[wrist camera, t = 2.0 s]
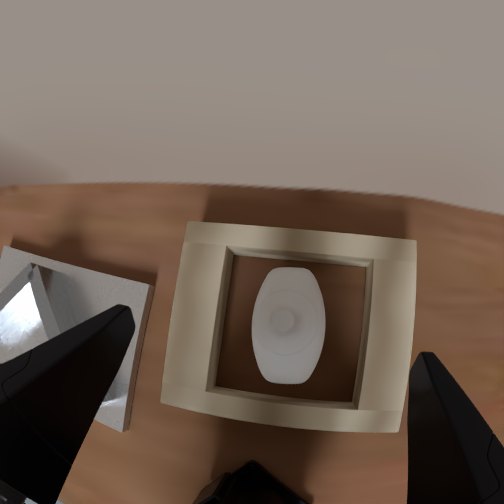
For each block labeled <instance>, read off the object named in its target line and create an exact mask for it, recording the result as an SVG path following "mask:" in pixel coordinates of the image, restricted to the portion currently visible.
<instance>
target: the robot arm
mask: <svg viewBox="0 0 504 504" xmlns="http://www.w3.org/2000/svg"><path fill="white" fill-rule="evenodd" d="M135 328H136V326H135V321H134V318H133V314H132V311H131V308H130V307H129V306H126V305H122V304H117V305H115V306H113V307H111V308H109V309H107V310H105V311H103V312H101V313H99V314H97V315H95V316H94V317H92V318H90V319H88V320H86V321H84V322H82V323H80V324H78V325H76V326H74V327H72V328H70V329H69V330H67V331H65V332H63V333H61V334H59V335H57V336H55V337H53V338H51V339H49V340H47V341H46V342H44V343H42V344H40V345H38V346H36V347H34V348H33V349H30V350H28V351H27V352H25V353H23V354H21V355H19V356H17V357H15V358H13V359H11V360H8V361H6V362H4V363H2V364H0V504H25V503H24V502H25V500H26V498H29V499H31V500H32V501H34V502H36V503H37V504H55V503H56V501H57V499H58V496H59V494H60V492H61V489H62V487H63V485H64V483H65V480H66V478H67V476H68V474H69V471H70V469H71V467H72V464H73V462H74V460H75V458H76V456H77V453H78V451H79V449H80V447H81V445H82V443H83V441H84V439H85V437H86V434H87V432H88V430H89V428H90V426H91V424H92V422H93V420H94V418H95V416H96V414H97V412H98V410H99V408H100V406H101V404H102V402H103V400H104V398H105V396H106V394H107V392H108V390H109V388H110V386H111V385H112V383H113V381H114V379H115V377H116V375H117V373H118V371H119V369H120V367H121V364H122V362H123V359H124V357H125V354H126V352H127V349H128V347H129V345H130V342H131V340H132V337H133V335H134V332H135ZM407 427H408V493H407V504H504V447H503V445H502V444H501V443H500V441H499V440H498V438H497V437H496V435H495V434H494V433H493V431H492V430H491V428H490V427H489V425H488V424H487V423H486V421H485V420H484V418H483V417H482V416H481V414H480V413H479V411H478V410H477V409H476V407H475V406H474V404H473V403H472V402H471V400H470V399H469V398H468V396H467V395H466V394H465V392H464V391H463V390H462V388H461V387H460V386H459V384H458V383H457V382H456V381H455V379H454V378H453V377H452V375H451V374H450V373H449V371H448V370H447V369H446V368H445V366H444V365H443V364H442V363H441V361H440V360H439V359H438V358H437V356H436V355H435V354H434V353H433V352H420V353H419V355H418V357H417V358H416V360H415V362H414V364H413V366H412V368H411V370H410V374H409V398H408V417H407ZM250 465H253V466H254V467H255V468H254V469H250V468H249V466H250ZM193 504H309V503H307V502H306V501H305V500H303V499H302V498H301V497H299V496H298V495H297V494H295V493H294V492H293V491H292V490H290V489H289V488H288V487H286V486H285V485H284V484H283V483H281V482H280V481H279V480H278V479H276V478H275V477H274V476H273V475H272V474H270V473H269V472H268V471H267V470H266V469H264V468H263V467H262V466H261V465H260V464H259V463H257V462H256V461H253V460H251V461H248V462H246V463H245V464H244V465H242V466H241V467H240V468H239V469H237V470H236V471H235V472H233V473H232V474H231V473H230V472H226V473H224V474H223V475H221V476H220V477H219V478H217V479H216V480H215V481H213V482H212V483H211V484H209V485H208V486H206V487H205V488H204V489H203V490H202V492H201V493H200V494H199V496H198V497H197V498H196V500H195V501H194V502H193Z"/></svg>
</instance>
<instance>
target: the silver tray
mask: <svg viewBox="0 0 504 504" xmlns="http://www.w3.org/2000/svg"><path fill="white" fill-rule="evenodd" d="M154 289H155V286H152V285H149V284H145V283H141V282H137V281H133V280H128V279H124V278H120V277H116V276H112V275H108V274H104V273H100V272H96V271H93V270H89V269H85V268H81V267H77V266H74V265H70V264H66V263H63V262H59V261H55V260H52V259H48V258H45V257H41V256H38V255H34V254H31V253H28V252H24V251H21V250H17V249H14V248H11V247H8V246H4V247H3V251H2V255H1V259H0V362H1V363H4V362H6V361H8V360H11V359H13V358H15V357H17V356H19V355H21V354H23V353H25V352H27V351H28V350H30V349H33V348H34V347H36V346H38V345H40V344H42V343H44V342H46V341H47V340H49V339H51V338H53V337H55V336H57V335H59V334H61V333H63V332H65V331H67V330H69V329H70V328H72V327H74V326H76V325H78V324H80V323H82V322H84V321H86V320H88V319H90V318H92V317H94V316H95V315H97V314H99V313H101V312H103V311H105V310H107V309H109V308H111V307H113V306H115V305H117V304H122V305H126V306H129V307H130V308H131V311H132V314H133V318H134V321H135V326H136V328H135V332H134V335H133V337H132V340H131V342H130V345H129V347H128V349H127V352H126V354H125V357H124V359H123V362H122V364H121V367H120V369H119V371H118V373H117V375H116V377H115V379H114V381H113V383H112V385H111V386H110V388H109V390H108V392H107V394H106V396H105V398H104V400H103V402H102V404H101V406H100V408H99V410H98V412H97V414H96V416H95V418H94V420H96V421H98V422H100V423H103V424H105V425H107V426H109V427H111V428H113V429H115V430H117V431H120V432H125V431H127V430H128V429H129V422H130V415H131V408H132V401H133V395H134V389H135V383H136V377H137V371H138V366H139V360H140V355H141V350H142V345H143V340H144V335H145V330H146V325H147V320H148V316H149V311H150V306H151V302H152V298H153V293H154Z"/></svg>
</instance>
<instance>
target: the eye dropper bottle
mask: <svg viewBox="0 0 504 504" xmlns="http://www.w3.org/2000/svg"><path fill="white" fill-rule="evenodd" d="M325 324H326V319H325V308H324V302H323V298H322V294H321V291H320V288H319V285H318V283H317V280H316V279H315V277H314V275H313V274H312V273H311V271H310V270H308V269H305V268H294V267H280V268H275V269H273V270H271V271H270V272H269V273H268V275H267V276H266V278H265V280H264V282H263V284H262V286H261V288H260V290H259V293H258V296H257V299H256V302H255V306H254V311H253V317H252V342H253V349H254V353H255V358H256V361H257V364H258V367H259V369H260V372H261V374H262V376H263V377H264V378H265V379H266V380H267V381H269V382H272V383H281V384H300V383H303V382H305V381H306V380H307V379H308V378H309V377H310V376H311V374H312V372H313V371H314V369H315V367H316V364H317V362H318V360H319V357H320V354H321V351H322V347H323V343H324V337H325Z"/></svg>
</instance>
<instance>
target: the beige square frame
mask: <svg viewBox="0 0 504 504" xmlns="http://www.w3.org/2000/svg"><path fill="white" fill-rule="evenodd" d="M234 255H241V256H251V257H262V258H273V259H284V260H295V261H306V262H317V263H328V264H339V265H350V266H361V267H366V282H365V297H364V309H363V320H362V331H361V340H360V349H359V357H358V365H357V372H356V379H355V386H354V392H353V398H352V402H339V401H324V400H313V399H302V398H292V397H284V396H276V395H268V394H261V393H254V392H247V391H241V390H235V389H229V388H224V387H218V386H216V379H217V371H218V364H219V356H220V349H221V342H222V334H223V327H224V320H225V313H226V306H227V299H228V292H229V285H230V278H231V271H232V264H233V257H234ZM416 262H417V252H416V240H408V239H399V238H389V237H379V236H369V235H359V234H348V233H337V232H326V231H315V230H303V229H291V228H279V227H266V226H253V225H240V224H226V223H211V222H196V221H188V223H187V228H186V233H185V238H184V244H183V249H182V254H181V260H180V266H179V271H178V277H177V283H176V289H175V295H174V301H173V308H172V314H171V321H170V328H169V335H168V342H167V350H166V357H165V365H164V373H163V382H162V391H161V400H160V403H164V404H168V405H171V406H175V407H179V408H183V409H187V410H192V411H196V412H201V413H205V414H210V415H215V416H220V417H225V418H230V419H236V420H241V421H247V422H254V423H260V424H267V425H274V426H282V427H291V428H301V429H311V430H324V431H341V432H398V431H399V426H400V421H401V416H402V411H403V406H404V400H405V394H406V388H407V381H408V374H409V367H410V359H411V350H412V340H413V329H414V316H415V299H416Z"/></svg>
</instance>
